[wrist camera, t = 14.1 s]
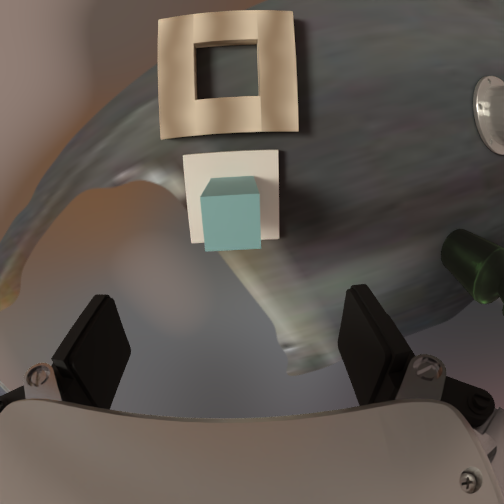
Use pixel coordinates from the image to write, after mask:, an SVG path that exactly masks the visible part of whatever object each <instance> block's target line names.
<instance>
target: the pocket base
mask: <svg viewBox="0 0 504 504" xmlns="http://www.w3.org/2000/svg"><path fill="white" fill-rule="evenodd" d="M228 45H257V60H258V85H259V96H245V97H225V98H211V99H200V100H198V97H197V65H196V48H203V47H214V46H228ZM158 93H159V116H160V133H161V139H168V138H177V137H186V136H196V135H208V134H221V133H239V132H273V131H294V132H299V126H298V92H297V70H296V51H295V36H294V22H293V11H273V10H242V11H222V12H209V13H199V14H191V15H184V16H178V17H171V18H166V19H160V20H159V21H158Z"/></svg>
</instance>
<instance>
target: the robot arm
mask: <svg viewBox="0 0 504 504" xmlns="http://www.w3.org/2000/svg"><path fill="white" fill-rule="evenodd" d="M473 110H474V117H475V122H476V126H477V129H478V132H479V134H480V136H481V138H482V140H483V142H484V143H485V145H486V146H487V147H488V148H489V149H490V150H491V151H492V152H494V153H496V154H501V155H504V82H503V81H502V80H500V79H499V78H497V77H495V76H485V77H483V78H481V79H480V80H479V81H478V83H477V85H476V87H475V91H474V97H473ZM338 348H339V351H340V354H341V357H342V359H343V362H344V364H345V367H346V370H347V372H348V375H349V378H350V380H351V383H352V386H353V389H354V391H355V394H356V397H357V399H358V402H359V405H360V406H357V407H352V408H346V409H339V410H332V411H324V412H317V413H309V414H300V415H291V416H278V417H263V418H237V419H236V418H235V419H208V418H183V417H182V418H181V417H167V416H156V415H145V414H137V413H129V412H122V411H115V410H110V407H111V404H112V401H113V398H114V396H115V393H116V390H117V388H118V385H119V383H120V380H121V377H122V375H123V372H124V370H125V367H126V365H127V362H128V360H129V357H130V354H131V349H130V345H129V342H128V340H127V337H126V334H125V331H124V329H123V326H122V323H121V320H120V317H119V314H118V311H117V308H116V305H115V302H114V300H113V299H112V298H110V296H109V295H95V296H94V297H93V299H92V300H91V301H90V303H89V304H88V305H87V307H86V308H85V310H84V311H83V312H82V314H81V315H80V316H79V318H78V319H77V321H76V322H75V324H74V325H73V327H72V328H71V329H70V331H69V332H68V334H67V335H66V337H65V338H64V340H63V341H62V343H61V344H60V346H59V347H58V349H57V351H56V352H55V354H54V355H53V357H52V358H51V359H52V361H53V364H52V366H51V365H49V364H47V363H38V364H35V365H33V366H32V367H30V368H29V369H28V370H27V371H26V373H25V375H24V379H23V383H24V385H23V386H21V387H19V388H17V389H15V390H13V391H11V392H9V393H6V394H4V395H2V396H0V504H504V409H502V408H501V407H499V408H498V409H496V408H495V404H494V400H493V398H492V396H491V395H490V394H489V393H488V392H487V391H485V390H483V389H481V388H477V387H475V386H472V385H469V384H466V383H463V382H461V381H458V380H456V379H453V378H450V377H447V376H446V368H445V365H444V364H443V362H442V361H441V360H439V359H438V358H437V357H435V356H432V355H428V354H420V355H418V356H415V355H414V353H413V351H412V350H411V348H410V347H409V345H408V344H407V342H406V340H405V339H404V337H403V336H402V334H401V333H400V331H399V330H398V328H397V327H396V325H395V324H394V322H393V321H392V319H391V318H390V316H389V315H388V314H386V312H385V311H384V309H383V308H382V306H381V305H380V303H379V302H378V300H377V299H376V297H375V296H374V295H373V293H372V292H371V290H370V289H369V287H368V286H367V285H366V284H361V285H352V286H351V288H350V289H348V290H347V291H346V297H345V303H344V310H343V316H342V321H341V327H340V332H339V338H338Z"/></svg>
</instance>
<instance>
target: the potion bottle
mask: <svg viewBox="0 0 504 504" xmlns="http://www.w3.org/2000/svg"><path fill="white" fill-rule="evenodd" d="M441 260H442V262H443V265H444V266H445V267H446V268H447V269H448V270H449V271H450V272H451V273H452V274H453V276H454V277H455V278H456V279H457V280H458V281H459V282H460V283H461V284H462V285H463V287H464V288H465V289H466V290H467V291H468V292H469V293H470V295H471V296H472V297H473V298H474V299H475V300H476V301H477V302H479V303H482V304H488V303H492V302H493V301H495V300H496V299H498V298H499V297H500V298H501V300H502V302H503V303H504V248H502V247H500V246H498V245H496V244H494V243H492V242H490V241H488V240H486V239H484V238H481V237H479V236H477V235H475V234H473V233H471V232H468V231H466V230H463V229H458V230H456V231H453V232H452V233H451V234H450V235H449V236H448V237H447V239H446V240H445V242H444V244H443V247H442V251H441ZM502 311H503V315H504V305H503V310H502Z"/></svg>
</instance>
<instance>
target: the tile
mask: <svg viewBox="0 0 504 504" xmlns="http://www.w3.org/2000/svg"><path fill="white" fill-rule="evenodd" d="M183 164H184V176H185V187H186V198H187V208H188V217H189V226H190V235H191V243H202V242H204V234H203V224H202V213H201V202H200V196H201V194H202V193H203V191H204V189H205V188H206V186H207V184H208V182H209V181H210V179H211V178H221V177H239V176H254V179H255V182H256V185H257V188H258V191H259V194H260V228H261V240H263V239H279V164H278V150H277V149H272V150H241V151H223V152H208V153H196V154H185V155H183Z"/></svg>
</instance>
